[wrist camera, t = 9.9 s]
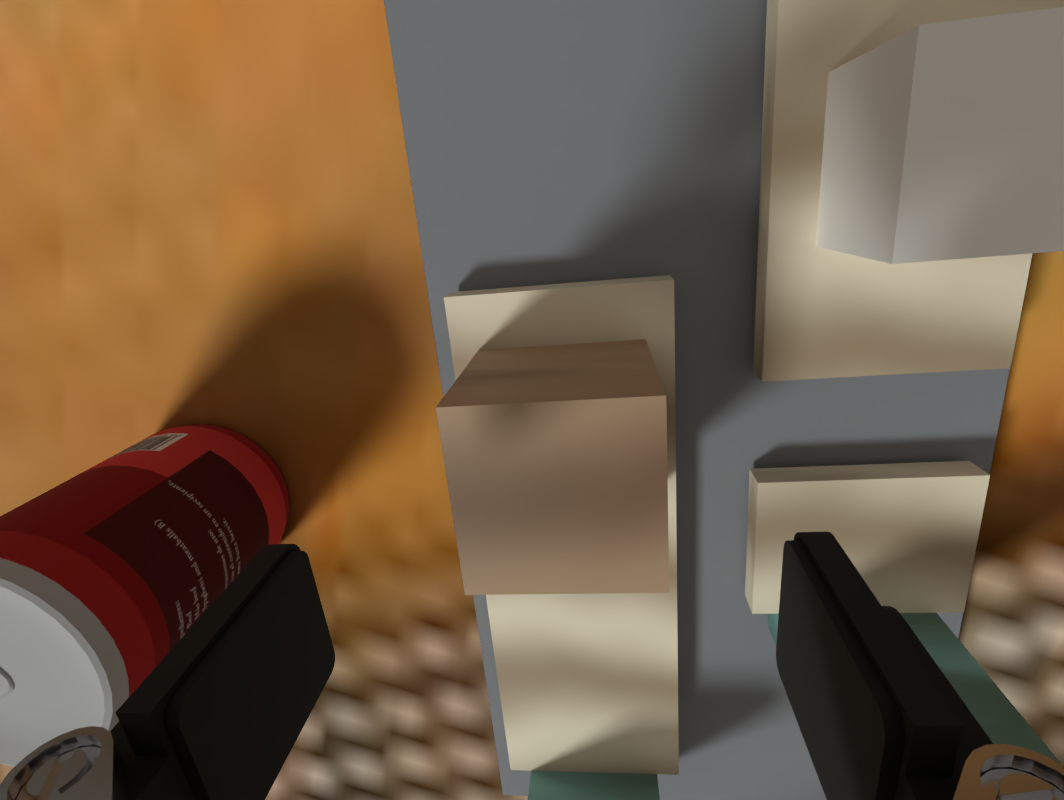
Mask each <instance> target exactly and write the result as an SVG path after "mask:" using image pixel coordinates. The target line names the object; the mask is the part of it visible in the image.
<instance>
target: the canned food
mask: <svg viewBox="0 0 1064 800" xmlns="http://www.w3.org/2000/svg"><path fill="white" fill-rule="evenodd" d="M289 509H290V502H289V494H288V489H287V487H286V484H285V481H284V478H283V476H282V474H281V473H280V471H279V469H278V467H277V466H276V464H275V463H274V462H273V460H272V459H271V458H270V457H269V456H268V454H267V453H266V452H265V451H264V450H262V449H261V448H260V447H259V446H258V445H257V444H255V443H254V442H253V441H251V440H249V439H248V438H246V437H245V436H243V435H241V434H239V433H237V432H234V431H232V430H229V429H227V428H224V427H219V426H214V425H202V424H194V425H187V426H180V427H175V428H169V429H165V430H163V431H161V432H158V433H156V434H153V435H151V436H150V437H148V438H146V439H144V440H142V441H140V442H138V443H137V444H135V445H133V446H131V447H129V448H127V449H125V450H123V451H122V452H120V453H118V454H116V455H114V456H112V457H110V458H109V459H107V460H105V461H103V462H101V463H99V464H97V465H96V466H94V467H92V468H90V469H88V470H86V471H84V472H82V473H81V474H79V475H77V476H75V477H73V478H71V479H69V480H68V481H66V482H64V483H62V484H60V485H58V486H56V487H55V488H53V489H51V490H49V491H47V492H45V493H43V494H41V495H40V496H38V497H36V498H34V499H32V500H30V501H28V502H27V503H25V504H23V505H21V506H19V507H17V508H15V509H14V510H12V511H10V512H8V513H6V514H4V515H2V516H0V764H5V765H9V766H13V767H15V766H16V765H17V764H18V763H19V762H20V761H21V760H22V759H23V758H25V757H26V756H27V755H28V754H30V753H31V752H33V751H34V750H35V749H37V748H38V747H40V746H41V745H42V744H44V743H46V742H48V741H50V740H52V739H54V738H55V737H57V736H59V735H61V734H64V733H67V732H69V731H72V730H75V729H78V728H83V727H89V726H96V727H104V728H105V729H107V730H108V731H109V732H110V731H111V730H112V729H113V728H114V726H115V725H116V724H117V723H118V722H119V719H118V717H117V715H116V713H115V712H116V711H117V710H118V709H119V708H120V707H121V706H122V704H123V703H124V702H125V701H126V700H127V699H128V698H129V697H130V696H131V694H132V693H133V692H134V691H135V690H136V689H137V688H138V687H139V685H140V684H141V683H142V682H143V681H144V680H145V679H146V678H147V676H148V675H149V674H150V673H151V672H152V671H153V670H154V669H155V668H156V666H157V665H158V664H159V663H160V662H161V661H162V660H163V659H164V657H165V656H166V655H167V654H168V653H169V652H170V651H171V650H172V648H173V647H174V646H175V645H176V644H177V643H178V642H179V641H180V640H181V638H182V637H183V636H184V635H185V634H186V633H187V632H188V631H189V629H190V628H191V627H192V626H193V625H194V624H195V623H196V622H197V621H198V619H199V618H200V617H201V616H202V615H203V614H204V613H205V612H206V610H207V609H208V608H209V607H210V606H211V605H212V604H213V603H214V601H215V600H216V599H217V598H218V597H219V596H220V595H221V594H222V593H223V591H224V590H225V589H226V588H227V587H228V586H229V585H230V584H231V582H232V581H233V580H234V579H235V578H236V577H237V576H238V575H239V573H240V572H241V571H242V570H243V569H244V568H245V567H246V566H247V565H248V563H249V562H250V561H251V560H252V559H253V558H254V557H255V556H256V554H257V553H258V552H259V551H260V550H261V549H262V548H263V547H264V546H266V545H269V544H279V543H280V541H281V539H282V536H283V533H284V530H285V528H286V524H287V521H288V518H289Z"/></svg>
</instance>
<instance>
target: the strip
mask: <svg viewBox="0 0 1064 800" xmlns="http://www.w3.org/2000/svg"><path fill="white" fill-rule="evenodd" d="M444 303H445V310H446V317H447V324H448V331H449V338H450V346H451V353H452V360H453V367H454V374H455V381H456V380H457V378H458V377H459V375H460V374H461V373H462V371H463V370H464V369H465V367H466V366H467V365H468V363H469V362H470V361H471V359H472V358H473V357H474V355H475V354H476V353H477V351H478V350H490V349H505V348H521V347H536V346H551V345H567V344H582V343H598V342H613V341H629V340H644V339H646V342H647V345H648V347H649V350H650V353H651V355H652V358H653V361H654V363H655V366H656V369H657V372H658V374H659V377H660V380H661V382H662V385H663V388H664V391H665V393H666V409H667V476H668V543H669V593H600V594H506V595H486V600H487V607H488V614H489V621H490V628H491V635H492V642H493V649H494V656H495V663H496V670H497V677H498V685H499V692H500V699H501V706H502V713H503V720H504V727H505V734H506V741H507V748H508V755H509V762H510V769H511V770H526V771H531V775H530V784H529V794H528V800H660V795H659V786H658V777H657V774H669V775H679V737H678V631H677V525H676V419H675V313H674V279H673V278H672V277H671V276H670V275H663V276H650V277H637V278H625V279H612V280H599V281H586V282H573V283H561V284H548V285H535V286H522V287H510V288H497V289H484V290H471V291H458V292H451V293H449V294H448V295H446V296H445V297H444Z"/></svg>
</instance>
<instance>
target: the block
mask: <svg viewBox="0 0 1064 800" xmlns="http://www.w3.org/2000/svg"><path fill="white" fill-rule="evenodd" d="M816 247H819V248H824V249H828V250H833V251H837V252H841V253H846V254H850V255H854V256H859V257H863V258H868V259H872V260H876V261H881V262H885V263H889V264H900V263H913V262H926V261H939V260H952V259H965V258H978V257H991V256H1004V255H1017V254H1030V253H1043V252H1056V251H1064V7H1058V8H1050V9H1042V10H1034V11H1026V12H1018V13H1010V14H1002V15H994V16H986V17H978V18H970V19H962V20H954V21H946V22H938V23H930V24H922V25H918V26H916V27H914V28H912V29H910V30H908V31H906V32H904V33H903V34H901V35H899V36H897V37H895V38H893V39H891V40H889V41H887V42H885V43H883V44H882V45H880V46H878V47H876V48H874V49H872V50H870V51H868V52H866V53H864V54H862V55H861V56H859V57H857V58H855V59H853V60H851V61H849V62H847V63H845V64H843V65H841V66H839V67H838V68H836V69H834V70H832V71H830V72H828V83H827V98H826V112H825V126H824V141H823V155H822V169H821V184H820V198H819V212H818V227H817V241H816Z"/></svg>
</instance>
